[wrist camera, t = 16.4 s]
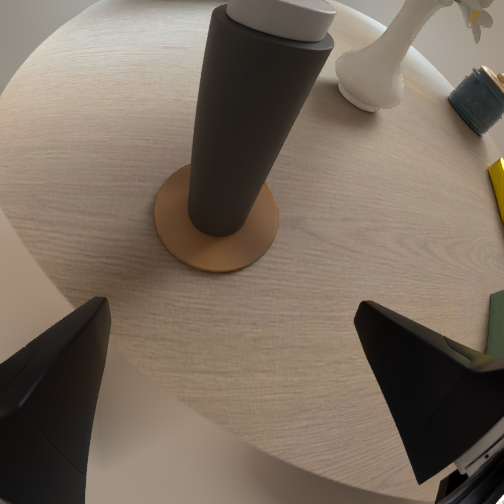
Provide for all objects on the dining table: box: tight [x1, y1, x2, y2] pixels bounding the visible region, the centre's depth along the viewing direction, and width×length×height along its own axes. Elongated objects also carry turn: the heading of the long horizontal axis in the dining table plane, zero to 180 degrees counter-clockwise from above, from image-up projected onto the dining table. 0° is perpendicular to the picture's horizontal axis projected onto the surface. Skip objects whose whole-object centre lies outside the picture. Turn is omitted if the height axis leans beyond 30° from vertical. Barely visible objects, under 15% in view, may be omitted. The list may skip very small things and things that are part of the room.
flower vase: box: [335, 0, 493, 112], centre depth 17 cm, size 13×18×25 cm
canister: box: [449, 65, 504, 135], centre depth 36 cm, size 13×13×18 cm
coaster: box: [154, 164, 279, 273], centre depth 18 cm, size 8×8×1 cm
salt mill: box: [188, 0, 336, 237], centre depth 11 cm, size 4×4×14 cm
